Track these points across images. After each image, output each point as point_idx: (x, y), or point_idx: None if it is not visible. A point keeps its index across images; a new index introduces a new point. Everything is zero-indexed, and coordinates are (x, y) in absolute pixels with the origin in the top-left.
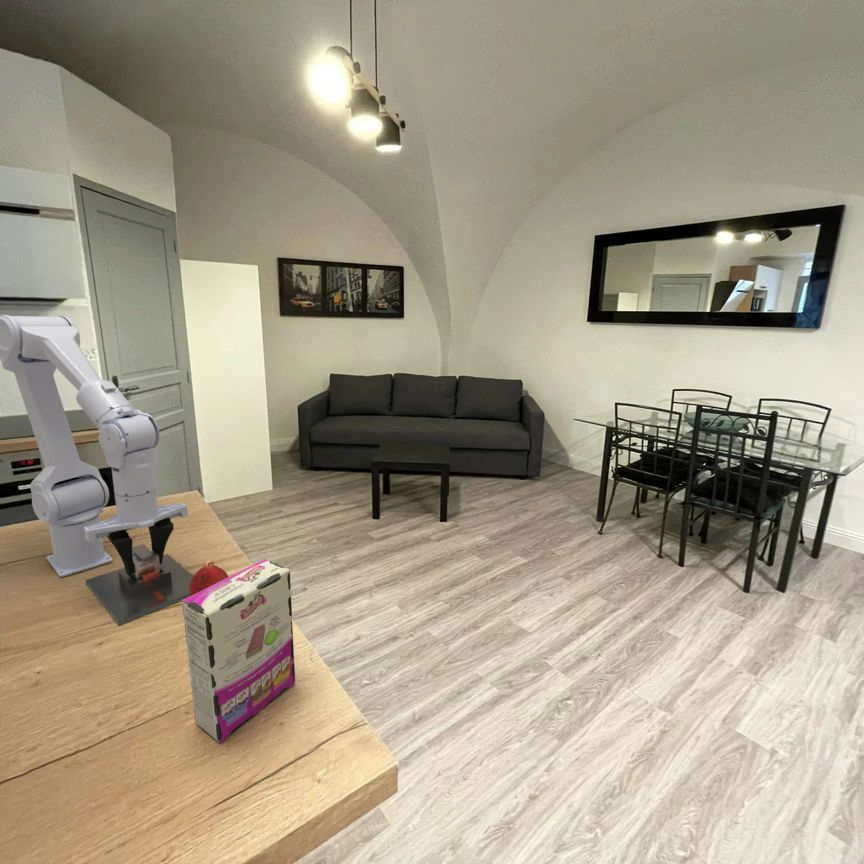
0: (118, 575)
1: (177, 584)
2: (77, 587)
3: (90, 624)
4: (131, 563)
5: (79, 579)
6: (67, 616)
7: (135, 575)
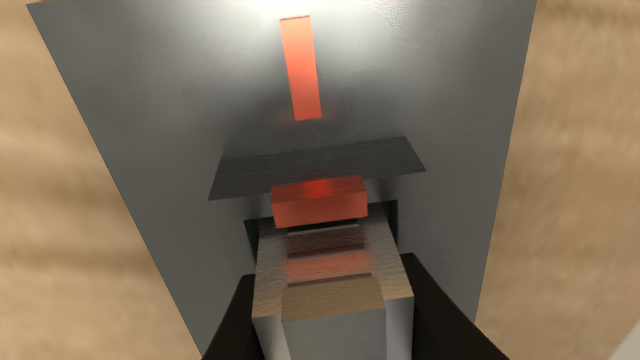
0: None
1: (195, 134)
2: (490, 311)
3: (594, 50)
4: (428, 301)
5: None
6: (603, 166)
7: (389, 235)
